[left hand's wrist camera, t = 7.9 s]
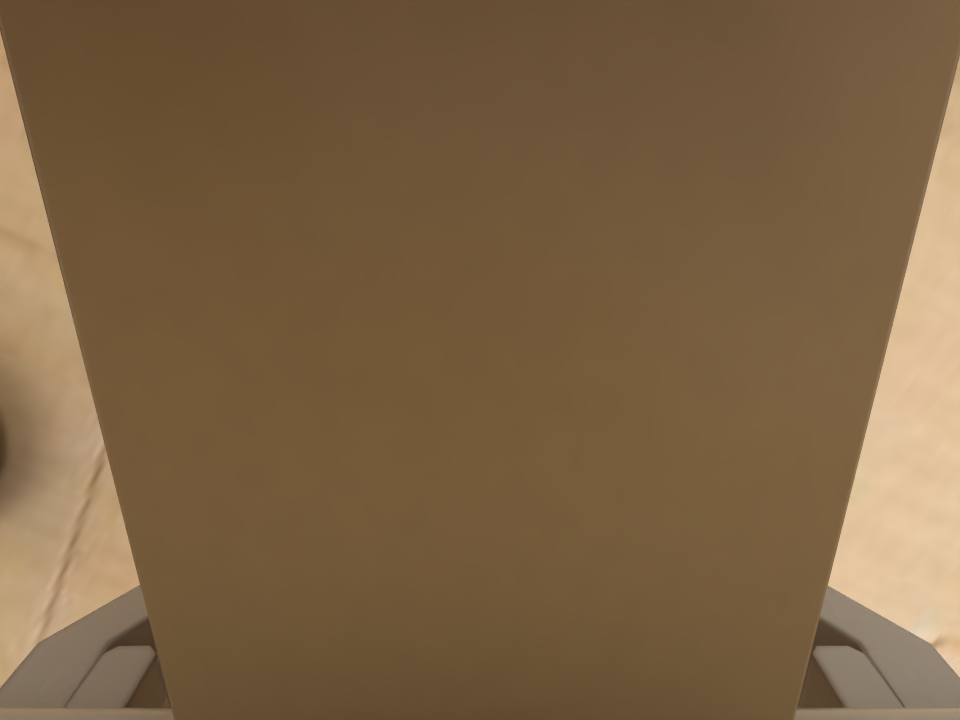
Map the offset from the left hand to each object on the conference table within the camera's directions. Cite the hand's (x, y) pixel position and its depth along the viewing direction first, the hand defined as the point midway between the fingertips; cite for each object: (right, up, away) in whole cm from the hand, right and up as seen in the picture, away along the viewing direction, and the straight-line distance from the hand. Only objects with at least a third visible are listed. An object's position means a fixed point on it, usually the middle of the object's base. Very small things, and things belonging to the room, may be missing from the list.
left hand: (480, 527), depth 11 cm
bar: (0, +10, 0) cm, 10 cm away
